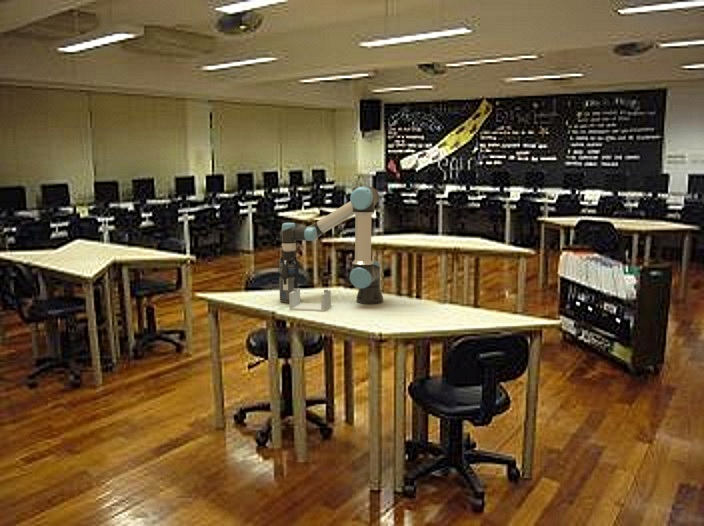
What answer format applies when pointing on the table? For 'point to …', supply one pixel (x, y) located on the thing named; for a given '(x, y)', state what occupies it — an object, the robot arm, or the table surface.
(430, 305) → the table surface
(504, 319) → the table surface
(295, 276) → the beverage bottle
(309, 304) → the holder
